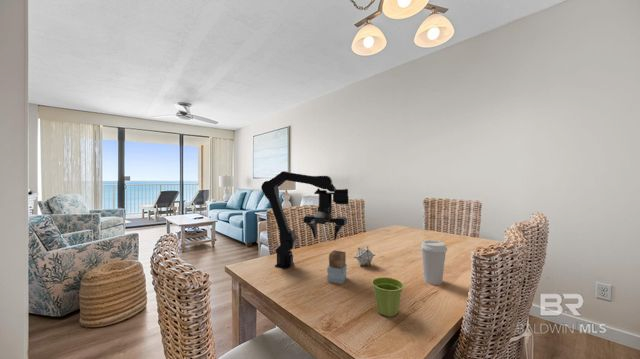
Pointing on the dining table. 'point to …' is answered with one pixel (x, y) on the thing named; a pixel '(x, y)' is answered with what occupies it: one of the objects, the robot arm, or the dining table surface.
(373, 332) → the dining table surface
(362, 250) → the game die
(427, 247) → the coffee cup
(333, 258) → the walnut cube
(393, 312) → the plant pot
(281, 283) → the dining table surface
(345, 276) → the slab bottom
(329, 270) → the slab top
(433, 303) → the dining table surface
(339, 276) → the slab middle
